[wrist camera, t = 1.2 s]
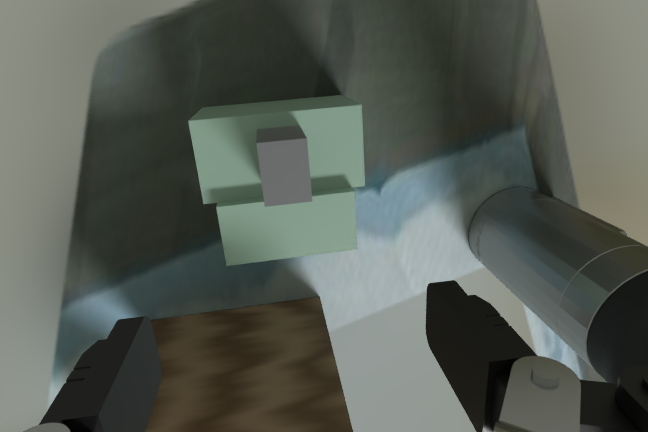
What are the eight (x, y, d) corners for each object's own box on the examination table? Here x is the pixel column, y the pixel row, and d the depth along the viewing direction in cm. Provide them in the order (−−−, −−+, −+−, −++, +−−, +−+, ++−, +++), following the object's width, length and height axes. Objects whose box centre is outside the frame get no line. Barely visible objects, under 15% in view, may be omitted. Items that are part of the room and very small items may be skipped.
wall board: (319, 296, 44) (362, 470, 26) (324, 351, 47) (366, 545, 28) (150, 320, 43) (67, 525, 24) (165, 376, 45) (99, 599, 27)
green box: (341, 94, 38) (380, 114, 26) (347, 208, 41) (384, 271, 29) (202, 107, 36) (174, 133, 24) (222, 223, 40) (206, 295, 28)
